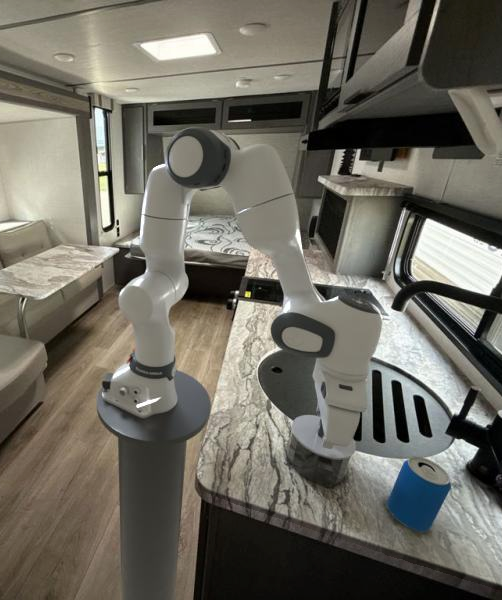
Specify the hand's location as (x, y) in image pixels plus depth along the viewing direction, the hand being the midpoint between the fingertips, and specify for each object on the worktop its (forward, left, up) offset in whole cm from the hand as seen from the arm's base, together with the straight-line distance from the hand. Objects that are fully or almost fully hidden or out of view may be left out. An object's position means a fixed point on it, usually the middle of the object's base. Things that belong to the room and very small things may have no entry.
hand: (323, 429), depth 66 cm
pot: (0, 0, -9) cm, 9 cm away
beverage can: (+15, -7, -9) cm, 19 cm away
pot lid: (0, 0, -2) cm, 2 cm away
